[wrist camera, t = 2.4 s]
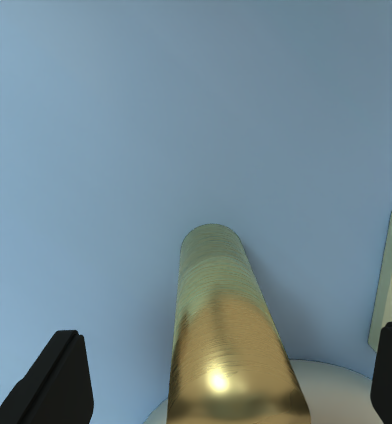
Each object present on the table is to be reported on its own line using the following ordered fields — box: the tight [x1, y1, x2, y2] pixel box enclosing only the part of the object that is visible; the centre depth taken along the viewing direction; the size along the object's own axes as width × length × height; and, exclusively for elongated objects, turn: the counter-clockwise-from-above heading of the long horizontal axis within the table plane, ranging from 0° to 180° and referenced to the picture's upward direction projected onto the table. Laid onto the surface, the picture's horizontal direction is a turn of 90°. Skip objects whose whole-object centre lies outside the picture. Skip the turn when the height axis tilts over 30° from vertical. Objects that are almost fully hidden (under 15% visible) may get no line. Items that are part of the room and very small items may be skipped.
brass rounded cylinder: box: [166, 224, 311, 424], centre depth 11 cm, size 3×3×9 cm
